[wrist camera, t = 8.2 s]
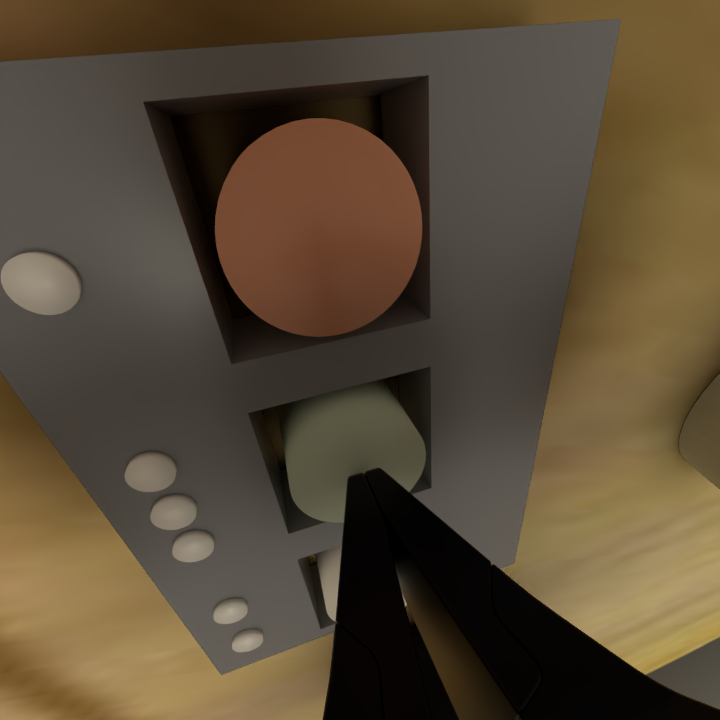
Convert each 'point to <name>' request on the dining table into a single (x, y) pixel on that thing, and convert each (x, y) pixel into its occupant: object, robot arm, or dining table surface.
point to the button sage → (346, 445)
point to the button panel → (266, 342)
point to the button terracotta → (318, 227)
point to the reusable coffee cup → (704, 434)
